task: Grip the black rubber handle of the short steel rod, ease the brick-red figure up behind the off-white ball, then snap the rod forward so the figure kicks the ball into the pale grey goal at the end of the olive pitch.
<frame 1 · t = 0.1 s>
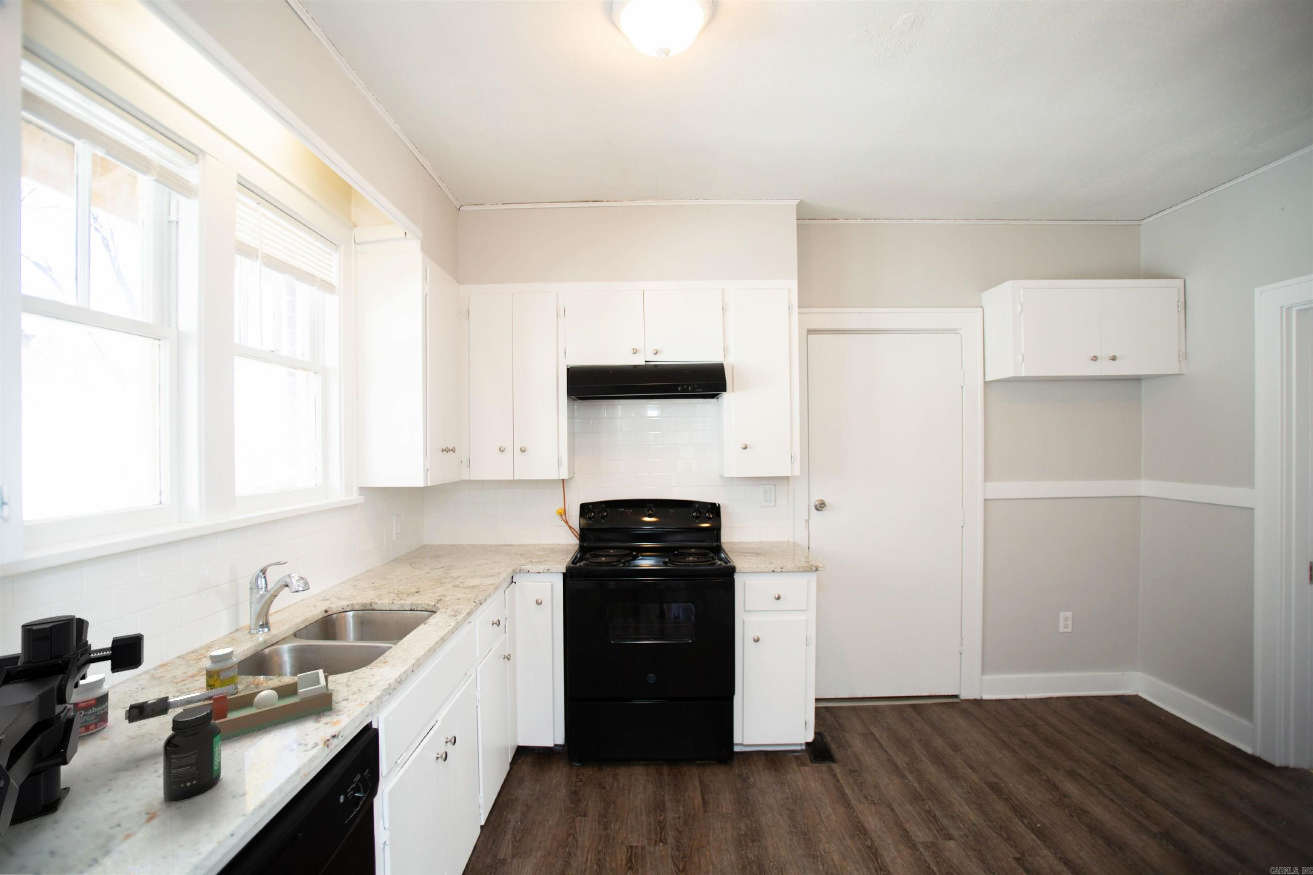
hand: (83, 649, 97), 17 cm above the countertop, fingers open, 9 cm apart
pitch: (259, 717, 102), on the countertop
goal: (310, 703, 107), resting on pitch
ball: (265, 700, 103), point 3 cm above the countertop, touching pitch
rod: (182, 710, 96), point 5 cm above the countertop, slide at 0.0 cm
supplement bottle: (193, 789, 81), on the countertop
supplement bottle 2: (221, 695, 112), on the countertop
pill bottle: (86, 731, 99), on the countertop
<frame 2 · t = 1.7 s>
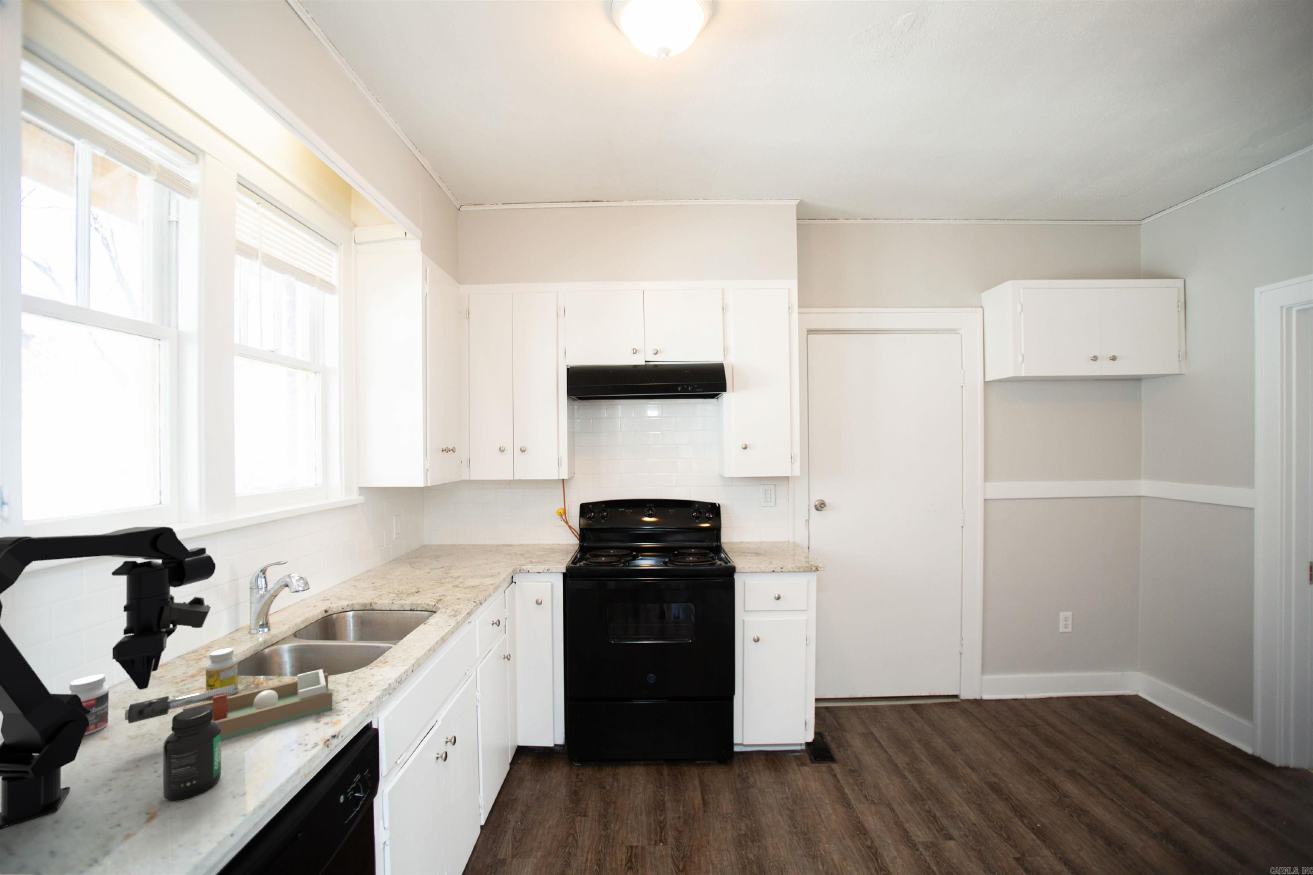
hand: (148, 679, 93), 12 cm above the countertop, fingers open, 9 cm apart
nothing on the countertop moved.
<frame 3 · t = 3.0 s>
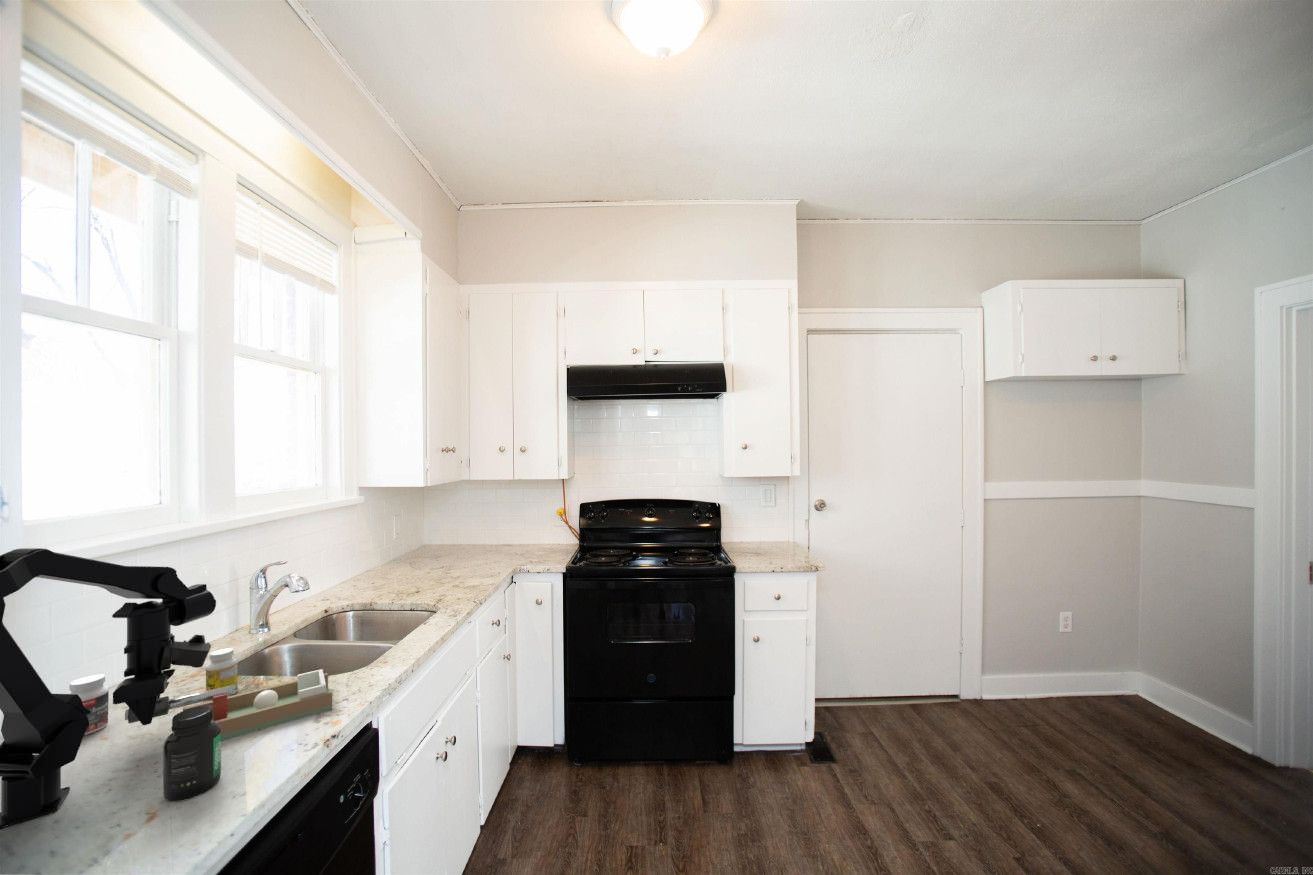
hand: (149, 720, 93), 5 cm above the countertop, fingers closed on rod, 3 cm apart
rod: (182, 710, 96), point 5 cm above the countertop, slide at 0.0 cm, touching gripper
everything else where it was.
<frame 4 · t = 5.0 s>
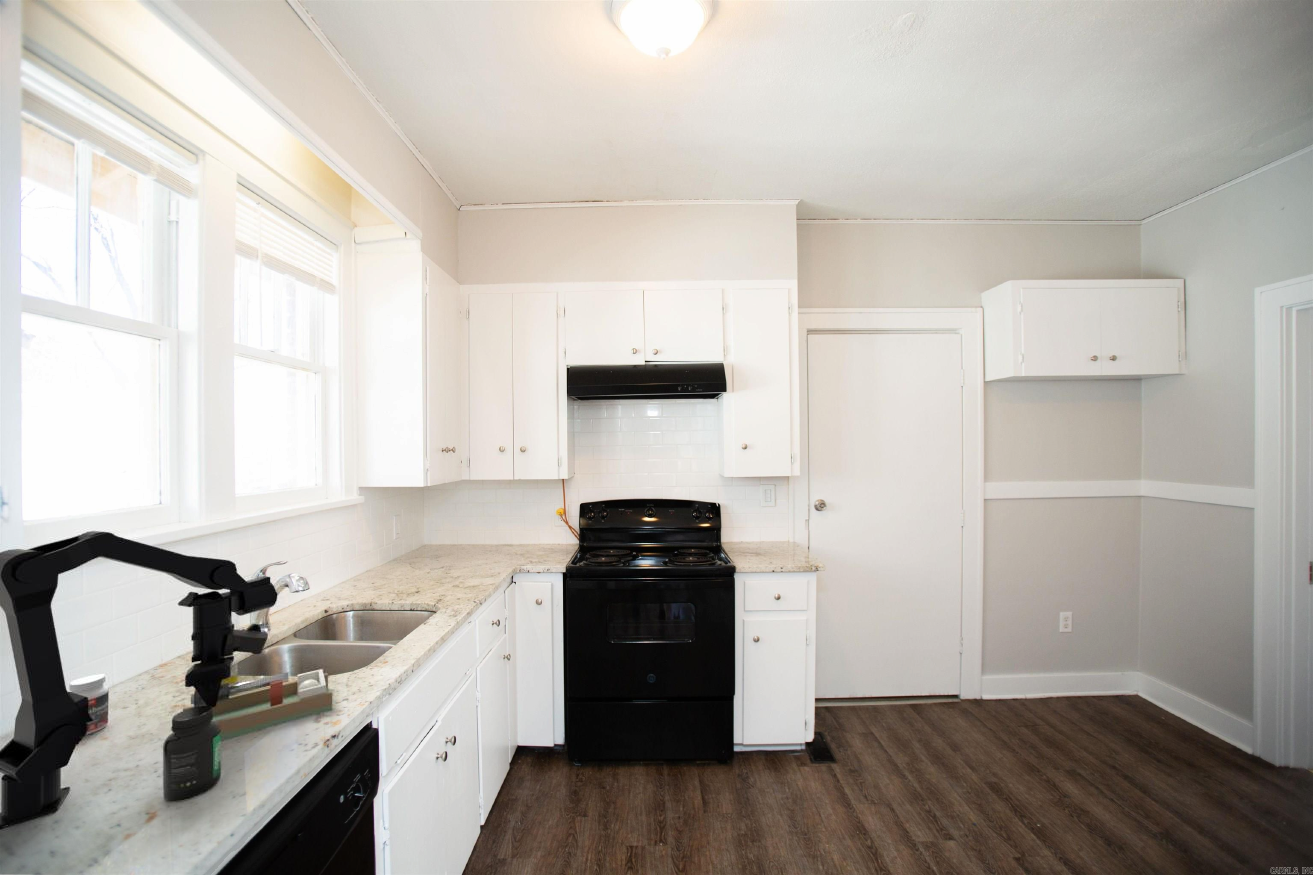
hand: (213, 703, 98), 5 cm above the countertop, fingers closed on rod, 3 cm apart
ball: (308, 689, 107), point 3 cm above the countertop, tilted 161°, touching goal
rod: (242, 696, 101), point 5 cm above the countertop, slide at 8.7 cm, touching gripper
everything else where it was.
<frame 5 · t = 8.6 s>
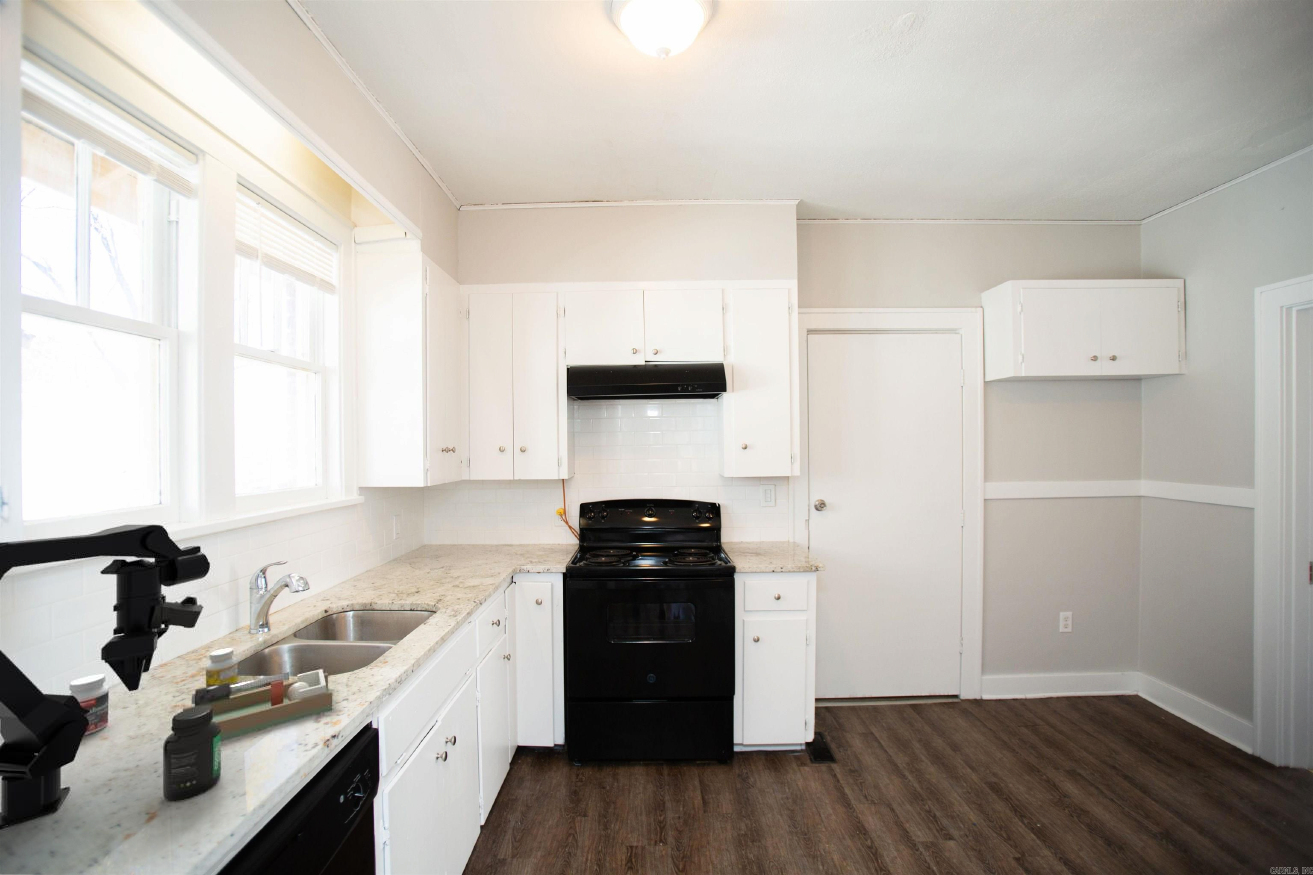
hand: (139, 680, 91), 13 cm above the countertop, fingers open, 9 cm apart
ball: (298, 692, 106), point 3 cm above the countertop, tilted 151°, touching pitch
rod: (242, 696, 101), point 5 cm above the countertop, slide at 8.9 cm
everything else where it was.
at the end: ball 0.9 cm from the target spot, point 3.0 cm above the countertop; rod slide at 8.9 cm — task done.
